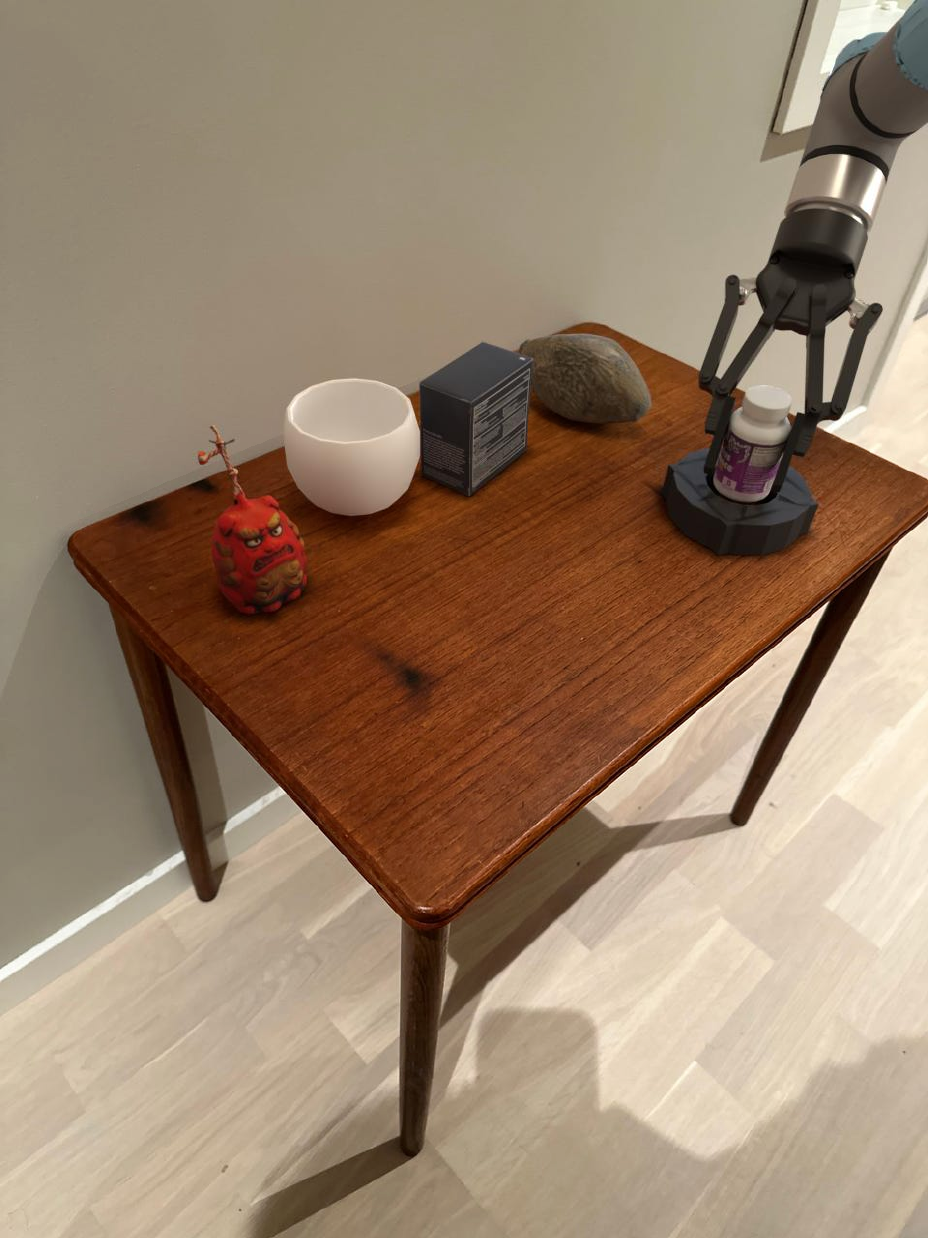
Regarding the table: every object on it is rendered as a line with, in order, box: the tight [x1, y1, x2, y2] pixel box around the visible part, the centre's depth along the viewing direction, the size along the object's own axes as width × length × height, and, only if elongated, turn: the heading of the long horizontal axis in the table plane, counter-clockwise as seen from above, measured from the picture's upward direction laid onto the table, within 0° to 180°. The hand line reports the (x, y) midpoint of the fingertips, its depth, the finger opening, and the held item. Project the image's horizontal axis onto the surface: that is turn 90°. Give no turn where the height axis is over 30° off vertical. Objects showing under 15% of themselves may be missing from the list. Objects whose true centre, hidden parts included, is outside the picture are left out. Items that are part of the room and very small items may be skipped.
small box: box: [418, 341, 533, 497], centre depth 85 cm, size 11×6×10 cm, turn 144°
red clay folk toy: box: [197, 425, 308, 616], centre depth 68 cm, size 8×7×15 cm
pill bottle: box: [714, 384, 793, 503], centre depth 78 cm, size 5×5×10 cm
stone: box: [518, 333, 652, 425], centre depth 94 cm, size 17×9×8 cm, turn 52°
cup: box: [282, 377, 421, 517], centre depth 80 cm, size 12×12×10 cm
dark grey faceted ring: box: [661, 446, 820, 556], centre depth 82 cm, size 12×12×4 cm
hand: (742, 478), depth 77 cm, fingers closed on pill bottle, 5 cm apart
